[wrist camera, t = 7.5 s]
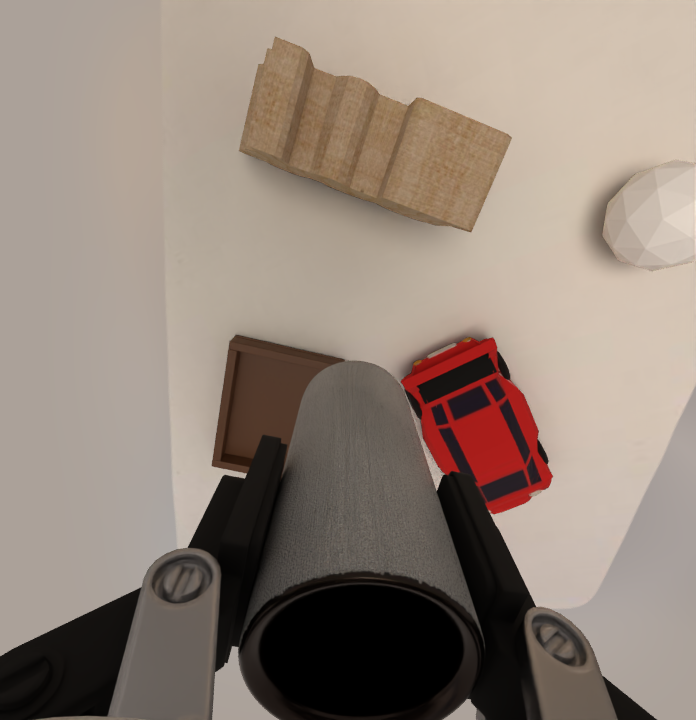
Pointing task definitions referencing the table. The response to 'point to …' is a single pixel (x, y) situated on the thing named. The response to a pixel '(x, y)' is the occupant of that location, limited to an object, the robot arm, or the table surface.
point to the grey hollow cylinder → (359, 568)
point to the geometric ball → (655, 217)
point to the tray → (261, 397)
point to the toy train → (370, 141)
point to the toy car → (479, 422)
